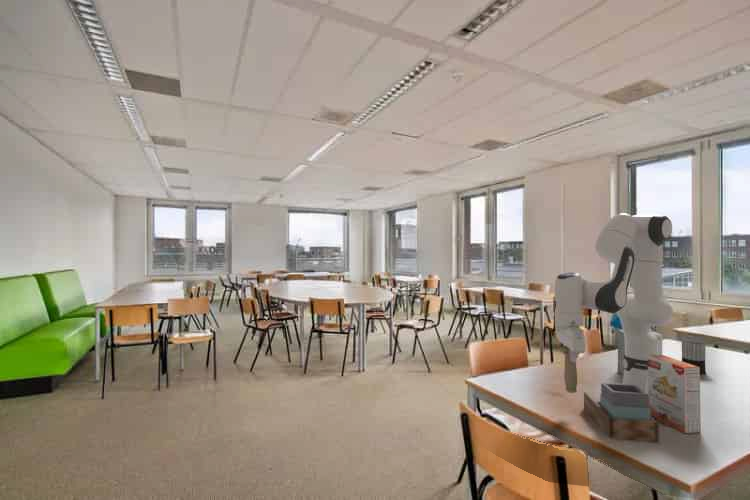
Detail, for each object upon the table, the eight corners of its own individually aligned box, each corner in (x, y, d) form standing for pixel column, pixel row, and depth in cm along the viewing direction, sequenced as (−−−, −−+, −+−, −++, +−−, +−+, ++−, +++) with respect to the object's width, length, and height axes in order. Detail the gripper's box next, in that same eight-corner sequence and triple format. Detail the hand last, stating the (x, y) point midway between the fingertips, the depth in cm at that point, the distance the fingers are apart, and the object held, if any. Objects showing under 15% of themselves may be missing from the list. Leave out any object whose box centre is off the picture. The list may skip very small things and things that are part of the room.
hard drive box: (623, 376, 169) (623, 332, 170) (617, 371, 177) (616, 329, 177) (663, 379, 166) (662, 334, 166) (654, 373, 173) (654, 330, 173)
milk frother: (712, 374, 172) (711, 342, 172) (677, 374, 172) (676, 342, 173) (687, 365, 186) (687, 335, 186) (655, 365, 187) (654, 335, 187)
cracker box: (646, 414, 129) (646, 354, 129) (663, 414, 129) (662, 354, 130) (683, 434, 115) (683, 366, 115) (701, 433, 115) (701, 366, 116)
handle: (577, 396, 125) (576, 351, 125) (558, 390, 130) (557, 347, 130) (583, 392, 128) (582, 349, 128) (565, 387, 133) (563, 345, 133)
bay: (624, 411, 131) (623, 394, 131) (658, 443, 110) (658, 422, 110) (584, 408, 134) (583, 392, 134) (610, 438, 112) (609, 418, 112)
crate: (634, 420, 121) (633, 384, 121) (650, 435, 111) (650, 395, 111) (600, 418, 123) (600, 381, 123) (613, 432, 113) (613, 393, 113)
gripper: (590, 325, 119) (591, 368, 119) (569, 314, 139) (570, 351, 139) (568, 325, 120) (570, 368, 120) (551, 314, 140) (552, 351, 140)
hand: (570, 359), depth 129 cm, fingers closed on handle, 4 cm apart
